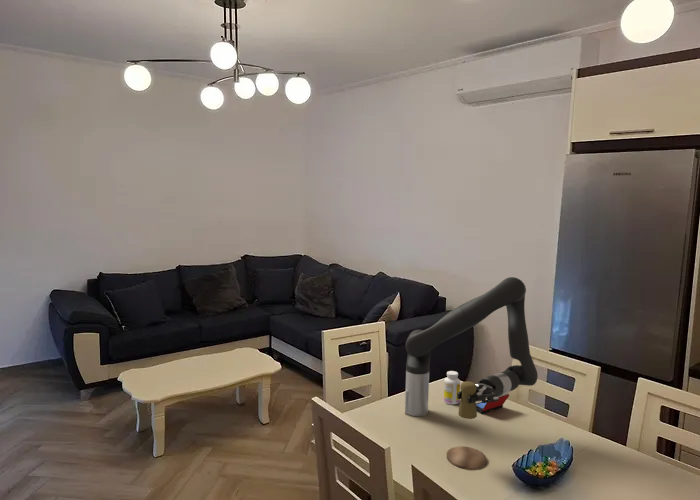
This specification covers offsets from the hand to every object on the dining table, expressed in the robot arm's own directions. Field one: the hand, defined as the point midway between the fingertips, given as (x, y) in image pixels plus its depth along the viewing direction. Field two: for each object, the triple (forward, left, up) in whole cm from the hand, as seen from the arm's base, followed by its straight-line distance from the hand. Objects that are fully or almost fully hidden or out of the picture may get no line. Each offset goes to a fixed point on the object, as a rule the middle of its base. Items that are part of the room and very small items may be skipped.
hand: (463, 398), depth 161 cm
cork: (+2, +2, -7) cm, 7 cm away
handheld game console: (+16, +43, -22) cm, 51 cm away
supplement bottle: (+1, +48, -22) cm, 53 cm away
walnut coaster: (+2, +2, -22) cm, 22 cm away
